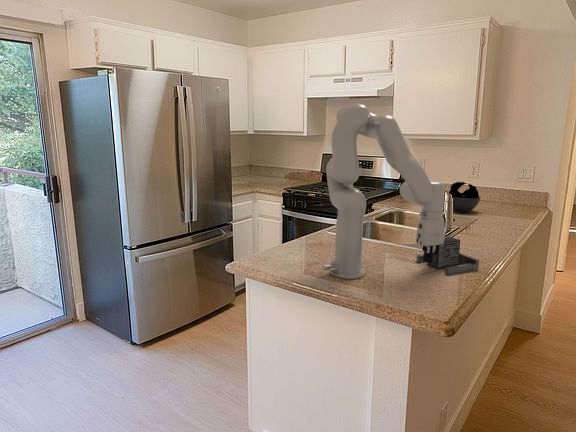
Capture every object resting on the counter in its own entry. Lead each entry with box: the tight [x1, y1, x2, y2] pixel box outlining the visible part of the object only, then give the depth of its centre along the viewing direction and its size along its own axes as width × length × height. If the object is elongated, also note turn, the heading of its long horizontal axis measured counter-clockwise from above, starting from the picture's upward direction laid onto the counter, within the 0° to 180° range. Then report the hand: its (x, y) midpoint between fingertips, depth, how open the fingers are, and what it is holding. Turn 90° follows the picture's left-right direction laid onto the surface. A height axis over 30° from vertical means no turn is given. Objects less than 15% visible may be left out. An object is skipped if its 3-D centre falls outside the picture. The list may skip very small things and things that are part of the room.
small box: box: [426, 236, 461, 270], centre depth 164 cm, size 11×6×10 cm, turn 112°
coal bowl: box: [448, 181, 481, 213], centre depth 266 cm, size 20×20×19 cm
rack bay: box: [415, 252, 480, 276], centre depth 165 cm, size 15×17×4 cm
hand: (427, 261), depth 161 cm, fingers closed
